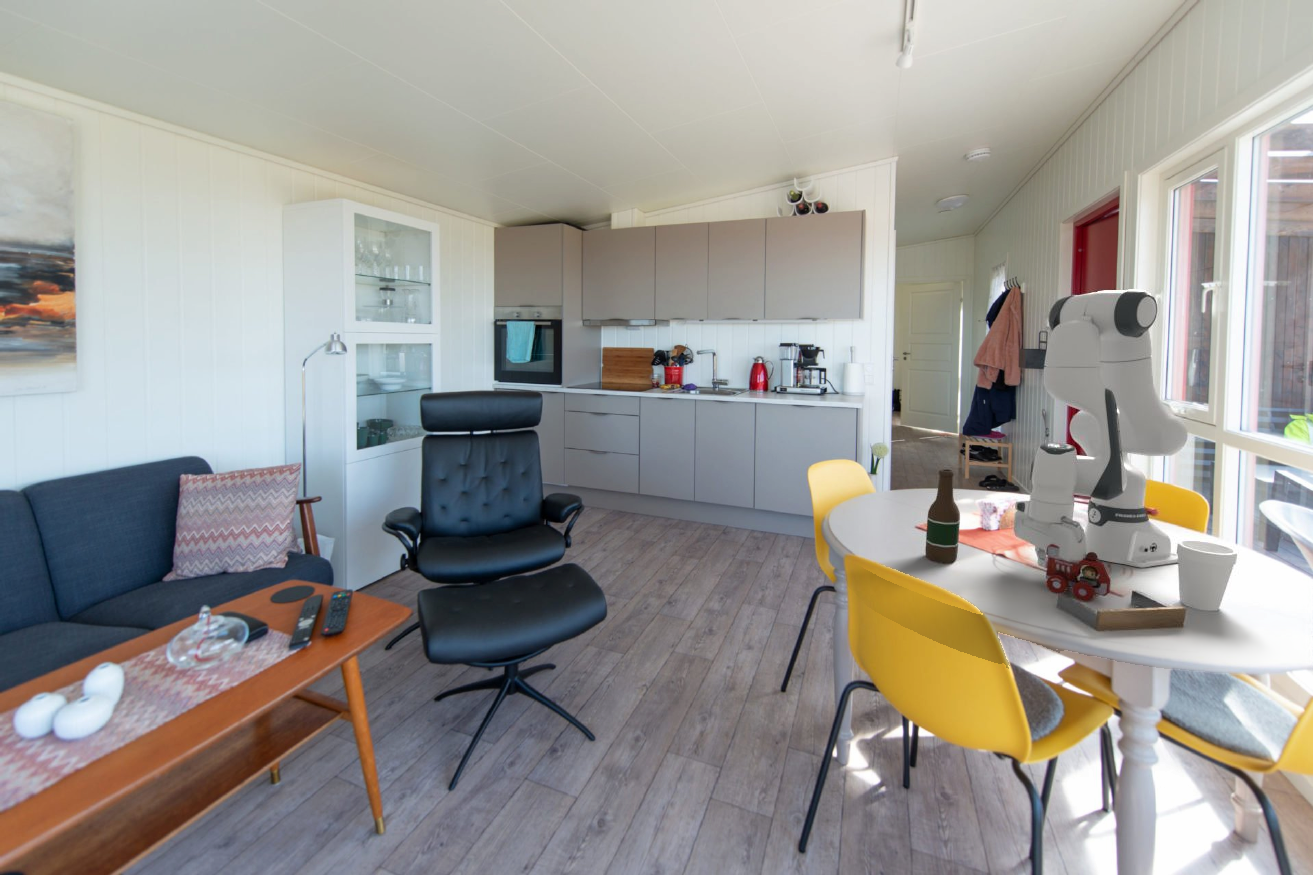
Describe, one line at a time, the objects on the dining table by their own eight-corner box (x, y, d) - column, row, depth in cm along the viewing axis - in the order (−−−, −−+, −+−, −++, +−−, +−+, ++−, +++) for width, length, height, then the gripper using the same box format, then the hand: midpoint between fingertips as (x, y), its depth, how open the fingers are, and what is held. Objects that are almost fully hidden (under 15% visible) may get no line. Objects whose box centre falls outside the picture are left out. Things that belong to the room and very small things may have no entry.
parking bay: (1134, 602, 129) (1137, 585, 128) (1183, 626, 118) (1186, 608, 117) (1056, 606, 128) (1058, 588, 127) (1098, 630, 117) (1100, 611, 116)
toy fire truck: (1102, 606, 128) (1107, 560, 126) (1037, 588, 137) (1041, 546, 136) (1112, 598, 132) (1117, 553, 130) (1049, 581, 141) (1053, 539, 140)
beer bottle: (944, 565, 152) (950, 474, 148) (918, 556, 159) (923, 469, 155) (963, 560, 155) (970, 471, 152) (937, 551, 162) (943, 466, 158)
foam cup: (1159, 596, 132) (1166, 540, 130) (1197, 594, 133) (1204, 538, 131) (1201, 615, 123) (1209, 555, 121) (1241, 613, 124) (1250, 553, 122)
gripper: (1097, 524, 131) (1090, 583, 133) (1034, 500, 151) (1029, 552, 153) (1070, 524, 130) (1063, 584, 132) (1010, 500, 151) (1005, 552, 153)
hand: (1044, 566), depth 143 cm, fingers closed
